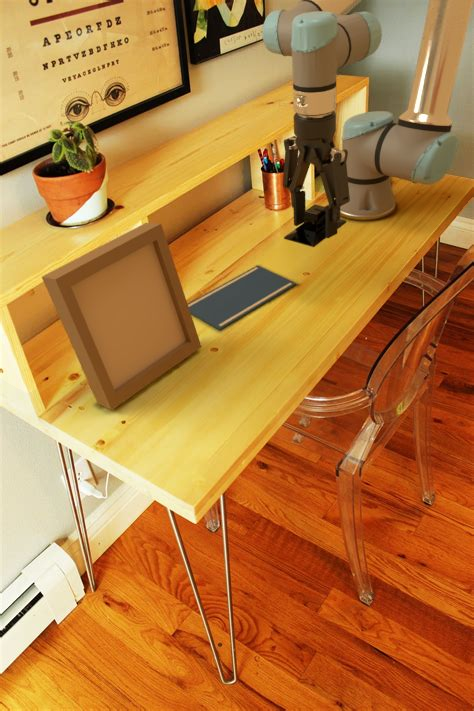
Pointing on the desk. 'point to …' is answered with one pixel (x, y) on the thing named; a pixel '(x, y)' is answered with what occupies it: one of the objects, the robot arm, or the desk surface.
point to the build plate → (311, 227)
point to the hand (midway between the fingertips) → (315, 229)
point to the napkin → (239, 297)
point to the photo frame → (124, 313)
